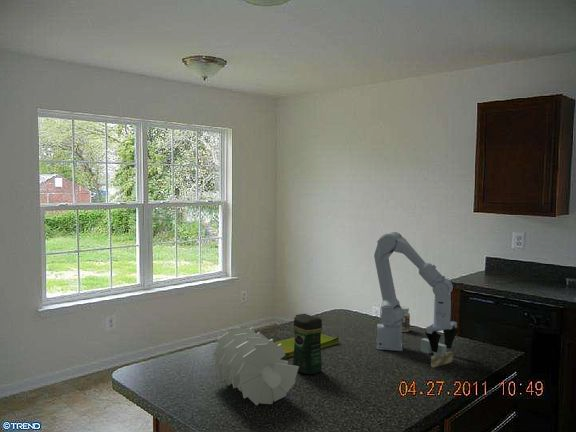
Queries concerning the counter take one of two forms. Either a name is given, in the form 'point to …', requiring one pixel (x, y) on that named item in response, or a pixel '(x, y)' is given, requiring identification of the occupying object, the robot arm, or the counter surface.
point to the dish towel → (289, 343)
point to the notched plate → (427, 348)
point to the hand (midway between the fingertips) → (441, 349)
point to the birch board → (441, 359)
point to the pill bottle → (405, 320)
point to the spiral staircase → (254, 365)
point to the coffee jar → (307, 343)
